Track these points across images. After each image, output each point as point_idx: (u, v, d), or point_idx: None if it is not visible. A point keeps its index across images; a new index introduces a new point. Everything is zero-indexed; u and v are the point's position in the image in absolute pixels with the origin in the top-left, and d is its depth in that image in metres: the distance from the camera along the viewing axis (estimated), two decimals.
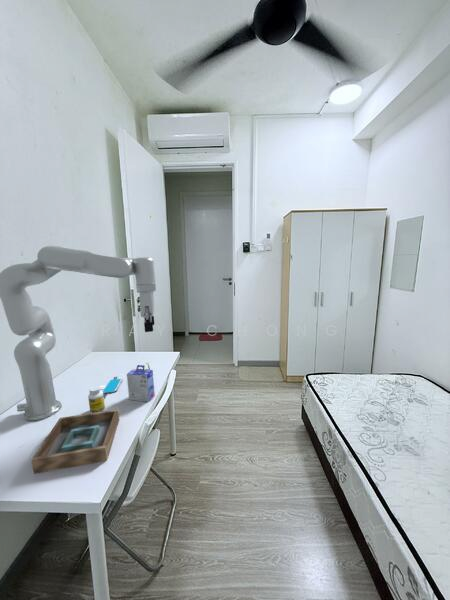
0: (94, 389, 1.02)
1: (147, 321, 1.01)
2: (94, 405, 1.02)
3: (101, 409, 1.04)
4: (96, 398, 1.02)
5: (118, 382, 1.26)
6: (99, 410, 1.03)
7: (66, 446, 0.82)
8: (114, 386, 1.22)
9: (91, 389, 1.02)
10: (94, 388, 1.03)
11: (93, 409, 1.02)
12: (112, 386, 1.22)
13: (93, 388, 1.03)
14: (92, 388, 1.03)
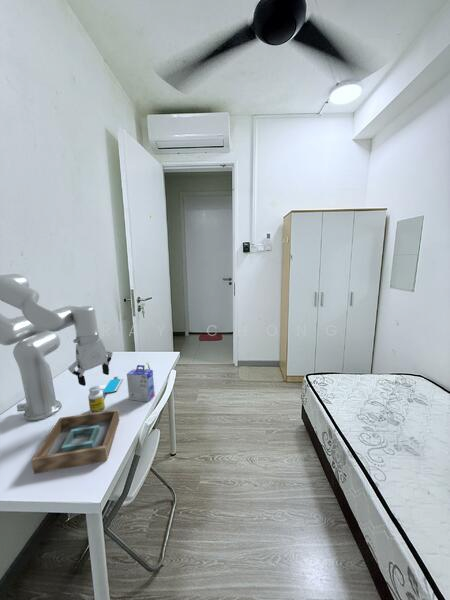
0: (94, 389, 1.02)
1: None
2: (94, 405, 1.02)
3: (101, 409, 1.04)
4: (96, 398, 1.02)
5: (118, 382, 1.26)
6: (99, 410, 1.03)
7: (66, 446, 0.82)
8: (114, 386, 1.22)
9: (91, 389, 1.02)
10: (94, 388, 1.03)
11: (93, 409, 1.02)
12: (112, 386, 1.23)
13: (93, 388, 1.03)
14: (92, 388, 1.03)
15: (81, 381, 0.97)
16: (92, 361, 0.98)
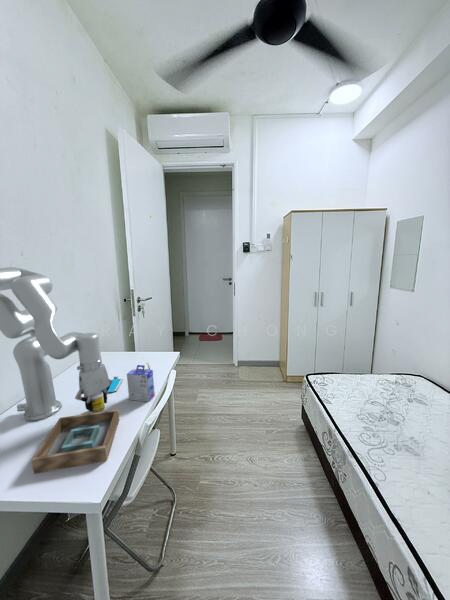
0: None
1: None
2: (94, 405, 1.02)
3: (101, 409, 1.04)
4: (96, 398, 1.02)
5: (118, 382, 1.26)
6: (99, 410, 1.03)
7: (66, 446, 0.82)
8: (114, 386, 1.23)
9: None
10: None
11: (93, 409, 1.02)
12: (112, 386, 1.23)
13: None
14: None
15: (88, 407, 1.01)
16: (95, 387, 1.00)
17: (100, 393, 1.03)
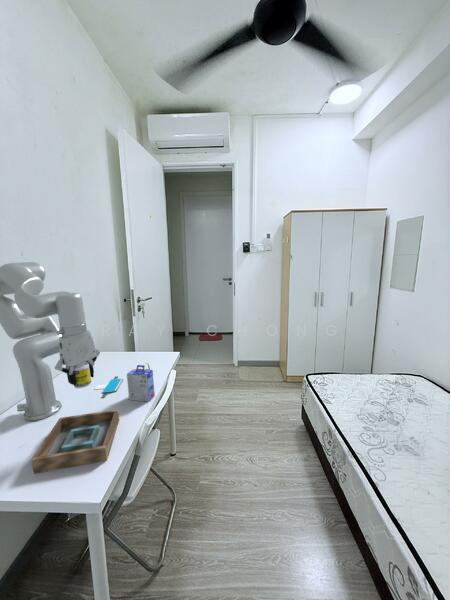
0: None
1: None
2: (78, 378, 0.87)
3: (87, 383, 0.88)
4: (81, 370, 0.87)
5: (118, 382, 1.26)
6: (84, 384, 0.88)
7: (66, 446, 0.82)
8: (114, 386, 1.23)
9: None
10: None
11: (77, 383, 0.87)
12: (112, 386, 1.23)
13: None
14: None
15: (71, 380, 0.86)
16: (78, 356, 0.85)
17: (85, 364, 0.88)
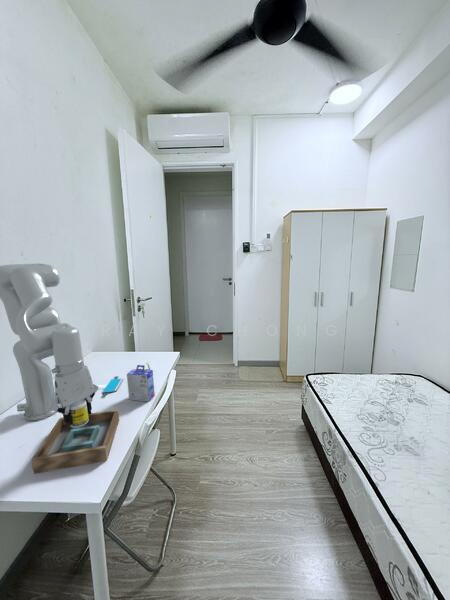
0: None
1: None
2: (74, 417, 0.82)
3: (84, 422, 0.84)
4: (77, 409, 0.82)
5: (118, 382, 1.26)
6: (81, 423, 0.83)
7: (66, 446, 0.82)
8: (114, 386, 1.23)
9: None
10: None
11: (73, 422, 0.82)
12: (112, 386, 1.23)
13: None
14: None
15: (67, 419, 0.81)
16: (75, 395, 0.81)
17: (82, 402, 0.83)
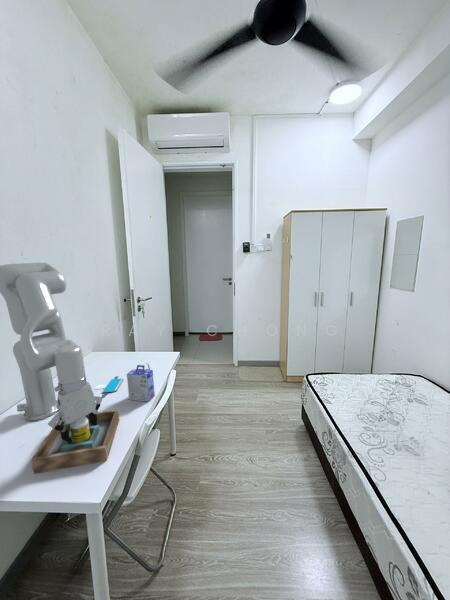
0: None
1: None
2: (77, 436, 0.83)
3: (86, 440, 0.85)
4: (80, 428, 0.83)
5: (118, 382, 1.26)
6: (83, 441, 0.84)
7: (66, 446, 0.82)
8: (114, 386, 1.23)
9: None
10: None
11: (76, 441, 0.84)
12: (112, 386, 1.23)
13: None
14: None
15: (64, 437, 0.81)
16: (77, 412, 0.82)
17: (84, 421, 0.85)
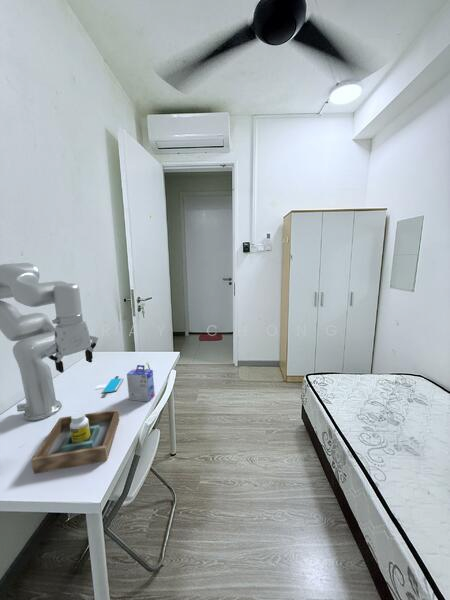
0: (77, 416, 0.84)
1: None
2: (77, 436, 0.83)
3: (86, 440, 0.85)
4: (80, 428, 0.83)
5: (119, 382, 1.26)
6: (83, 441, 0.84)
7: (66, 446, 0.82)
8: (114, 385, 1.23)
9: (73, 416, 0.84)
10: (77, 415, 0.85)
11: (76, 441, 0.84)
12: (112, 385, 1.23)
13: (76, 415, 0.85)
14: (75, 415, 0.85)
15: (59, 367, 0.86)
16: (72, 346, 0.87)
17: (84, 421, 0.85)
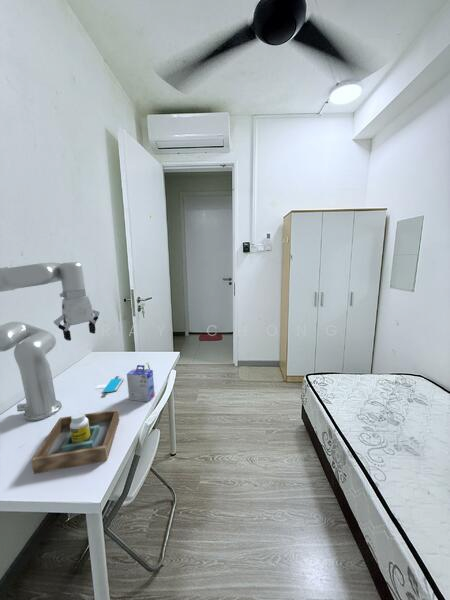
0: (77, 416, 0.84)
1: None
2: (77, 436, 0.83)
3: (86, 440, 0.85)
4: (80, 428, 0.83)
5: (119, 382, 1.26)
6: (83, 441, 0.84)
7: (66, 446, 0.82)
8: (114, 385, 1.23)
9: (73, 416, 0.84)
10: (77, 415, 0.85)
11: (76, 441, 0.84)
12: (112, 385, 1.23)
13: (76, 415, 0.85)
14: (75, 415, 0.85)
15: (66, 336, 0.98)
16: (78, 317, 0.99)
17: (84, 421, 0.85)
